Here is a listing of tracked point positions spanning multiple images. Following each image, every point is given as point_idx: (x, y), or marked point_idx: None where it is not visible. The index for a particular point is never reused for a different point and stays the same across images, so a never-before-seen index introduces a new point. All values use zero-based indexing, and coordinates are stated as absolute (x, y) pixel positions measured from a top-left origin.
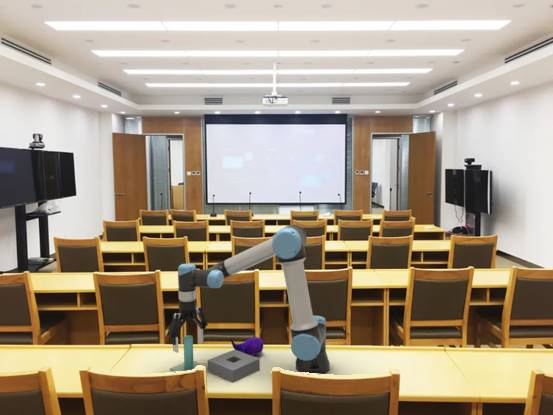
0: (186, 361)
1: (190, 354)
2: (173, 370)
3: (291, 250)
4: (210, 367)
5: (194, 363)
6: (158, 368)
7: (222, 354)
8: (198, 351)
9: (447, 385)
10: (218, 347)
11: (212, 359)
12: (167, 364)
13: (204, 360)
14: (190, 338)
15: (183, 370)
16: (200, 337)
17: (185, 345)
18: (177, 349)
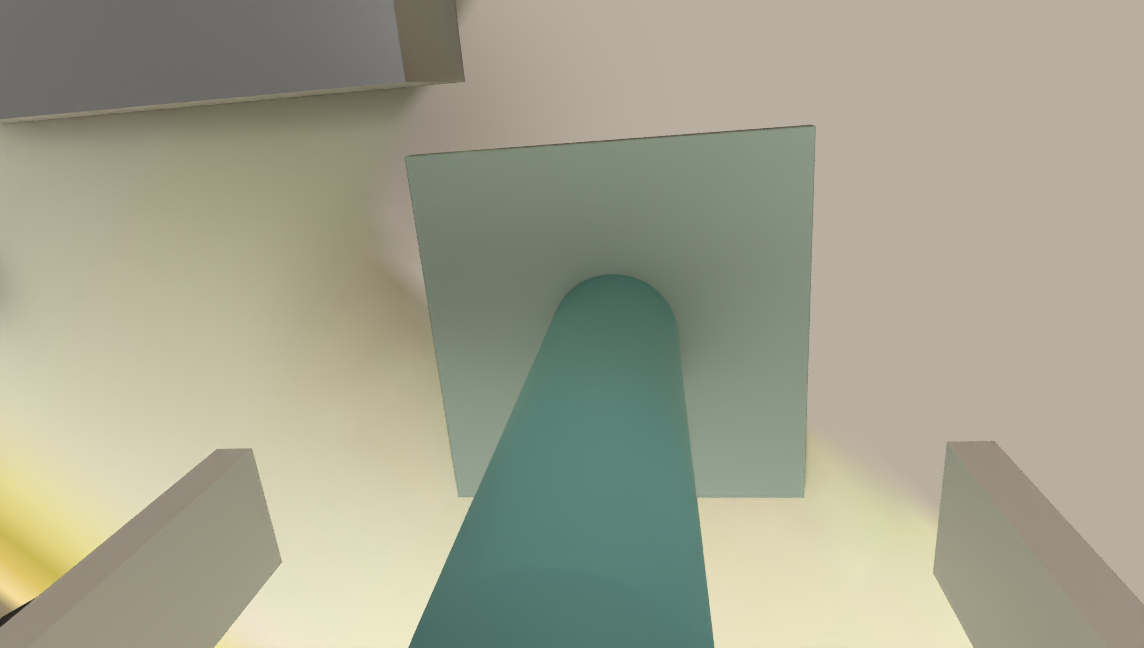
0: (676, 349)
1: (615, 351)
2: (805, 417)
3: None
4: (431, 4)
5: (484, 389)
6: (867, 601)
7: (79, 104)
8: (267, 624)
9: None
10: (39, 553)
11: (320, 39)
12: (722, 609)
13: (328, 395)
14: (568, 564)
15: (719, 317)
16: (179, 576)
17: (698, 520)
18: (1006, 480)
